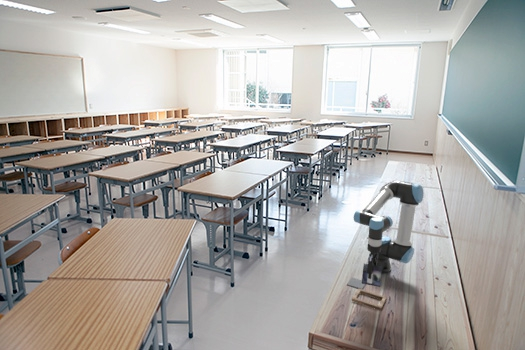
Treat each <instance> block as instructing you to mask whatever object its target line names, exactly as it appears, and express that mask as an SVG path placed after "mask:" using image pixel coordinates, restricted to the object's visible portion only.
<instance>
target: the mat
mask: <svg viewBox="0 0 525 350" xmlns="http://www.w3.org/2000/svg"><path fill="white" fill-rule="evenodd" d="M346 286H349V287H352V288H356V289H357V290H358V289H363V290H364V288H365V286H366V284H362V279H359V278H355V277H351V278H350V279H349V281H348V282H347V283H346Z"/></svg>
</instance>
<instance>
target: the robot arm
mask: <svg viewBox="0 0 525 350" xmlns="http://www.w3.org/2000/svg"><path fill="white" fill-rule="evenodd" d="M393 198H396V199H399V203H400V205H401V206H400V207H401V208H400V213H399V221H398V226H397V227H398V228H397V233H396V238H395V239H393V241H392V238H391V237H390V236H385V235H384V234H383V233H384V232H386V231H387V230H389V229H390V228H391V227H392V226H393V223H394V221H393V218H392V217H390V215H389V216H388V215H383V216H380V215H377V214H378V213H379V211H380V210H381V209H382V208H383V207H385V204H386V203H387V202H388V201H389V200H391V199H393ZM423 198H424V188H423V186H422V185H421V184H418V183H414V182H408V181H402V180H393V181H390V182H388V183H386V184H384V185H383V186H382V187H381V188H380V189H379V192H378V193H377V194H376V195H375V196H374V198H373V199H372V200H371V201H370V202H369V203H368V204H367V205H366V207H365V208H364V209H362V211H361V210H356V211H355V213H353V221H354V222H355V223H357V224H359V225H363V226H367V227H368V237H366V238H367V249H366V250H367V251H368V252H369V256H368V259H367V264H368V267H367V272H366V273H368V277H367V283H371V284H372V278H373V273H372V272H373V267H374V265H376V266H382V274H386V273H390V271H391V269H392V265H391V262H390V261H391V260H394V261H396V262H399V263H402V264H408V263H410V261H412V259H413V257H414V255H415V248H414V247H413V243H412V242H411V237H412V230H413V226H414V225H413V224H414V220H415V219H414V217H415V213H416V208H417V206H419V204H421V203H422V202H423V200H424V199H423ZM390 259H391V260H390Z"/></svg>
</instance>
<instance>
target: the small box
mask: <svg viewBox="0 0 525 350" xmlns="http://www.w3.org/2000/svg"><path fill="white" fill-rule="evenodd" d="M367 267H368V263H365V262H364V263H363V267H362V278H361V280H362V284H365V285H367V286H371V287H377V288H381V283H382V282H381V281H382V274H383V273H382V266H376V265H374V267H373V272H372V273H373V278H372V284H371V283H367V277H368V273H366V272H367Z"/></svg>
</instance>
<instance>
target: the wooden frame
mask: <svg viewBox="0 0 525 350" xmlns="http://www.w3.org/2000/svg"><path fill="white" fill-rule="evenodd" d="M361 294H363V295H365V296H369V297H372V298H374V297H375V299H377V298H378V300H380V302H379V303H378V304H375V303H373V302H370V301H366V300H363V299H362V298H361V299H360V298H359V296H360V295H361ZM351 301H352V302H353V303H357V304H360V305H363V306H365V307H368V308H371V309H374V308H375V310H377V311H380V312H381V311H382V309H384V308H383V307H384V306H383V305H385V303H386V302H387V296H384V295H382V294H381V295H380V294H378V293H376V292H372V291H368V290H365V289H364V288H363V289H358V288H357V290H356V292H355V293H354V294H353V296H352V299H351Z"/></svg>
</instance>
